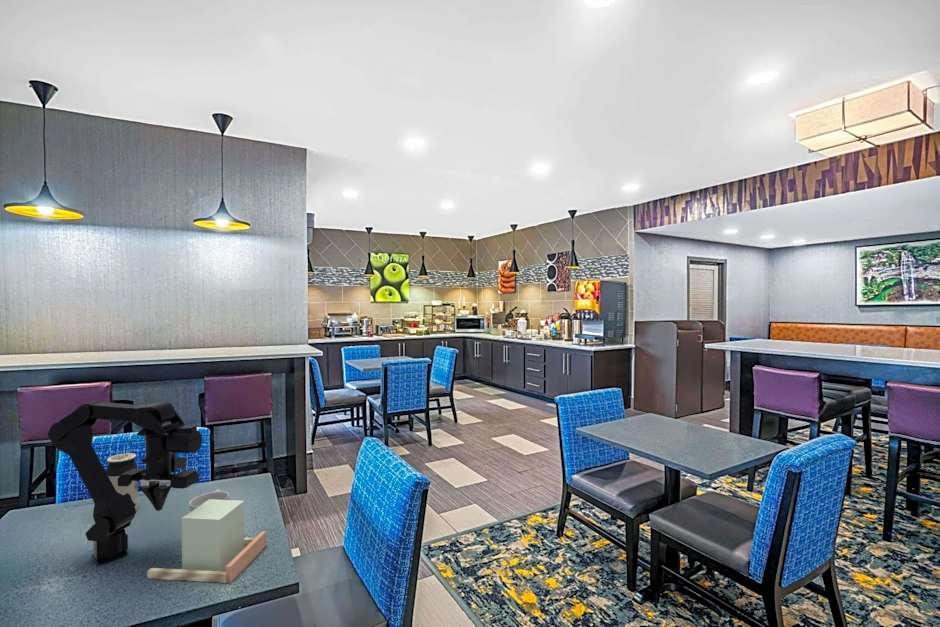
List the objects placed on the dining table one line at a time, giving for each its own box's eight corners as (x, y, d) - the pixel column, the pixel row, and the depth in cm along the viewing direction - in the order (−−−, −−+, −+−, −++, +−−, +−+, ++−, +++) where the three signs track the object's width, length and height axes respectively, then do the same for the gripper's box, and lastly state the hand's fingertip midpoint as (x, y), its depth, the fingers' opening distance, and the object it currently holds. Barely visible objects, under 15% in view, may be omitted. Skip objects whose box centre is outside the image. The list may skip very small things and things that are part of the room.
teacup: (217, 532, 138) (217, 505, 138) (181, 531, 138) (180, 504, 138) (241, 510, 152) (241, 486, 152) (208, 510, 152) (208, 486, 152)
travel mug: (101, 519, 145) (100, 462, 145) (113, 508, 153) (113, 453, 152) (131, 516, 147) (130, 460, 147) (141, 505, 155) (141, 451, 154)
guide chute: (147, 578, 115) (147, 562, 115) (194, 542, 132) (193, 528, 132) (230, 582, 113) (230, 566, 113) (266, 545, 131) (266, 531, 131)
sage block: (182, 572, 118) (181, 518, 117) (209, 549, 129) (209, 499, 128) (220, 574, 117) (219, 519, 116) (244, 551, 128) (244, 500, 127)
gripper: (211, 443, 130) (212, 498, 131) (148, 441, 132) (148, 496, 132) (184, 456, 119) (185, 516, 120) (115, 454, 121) (116, 514, 121)
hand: (159, 510), depth 123 cm, fingers closed
